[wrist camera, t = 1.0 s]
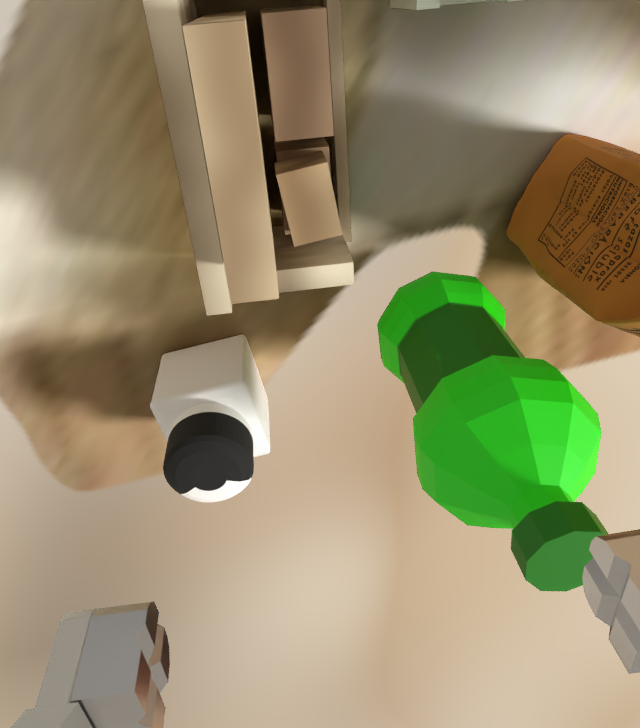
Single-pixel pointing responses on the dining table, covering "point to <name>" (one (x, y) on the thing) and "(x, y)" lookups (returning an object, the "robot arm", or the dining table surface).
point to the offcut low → (297, 149)
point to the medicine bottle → (211, 418)
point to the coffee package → (586, 227)
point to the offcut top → (308, 198)
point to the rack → (293, 264)
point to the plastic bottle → (494, 425)
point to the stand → (432, 3)
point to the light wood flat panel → (233, 151)
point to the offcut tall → (298, 71)
